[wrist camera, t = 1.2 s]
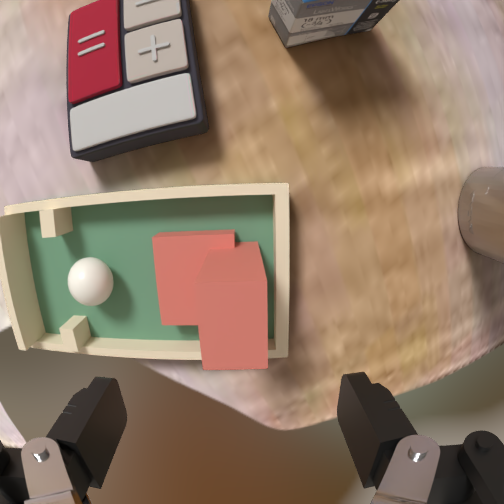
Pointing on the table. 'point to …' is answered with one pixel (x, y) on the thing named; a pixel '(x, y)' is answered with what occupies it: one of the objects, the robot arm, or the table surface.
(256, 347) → the block
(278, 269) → the pitch
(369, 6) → the label tape cartridge
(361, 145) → the table surface
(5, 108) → the table surface
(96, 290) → the ball
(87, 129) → the calculator
